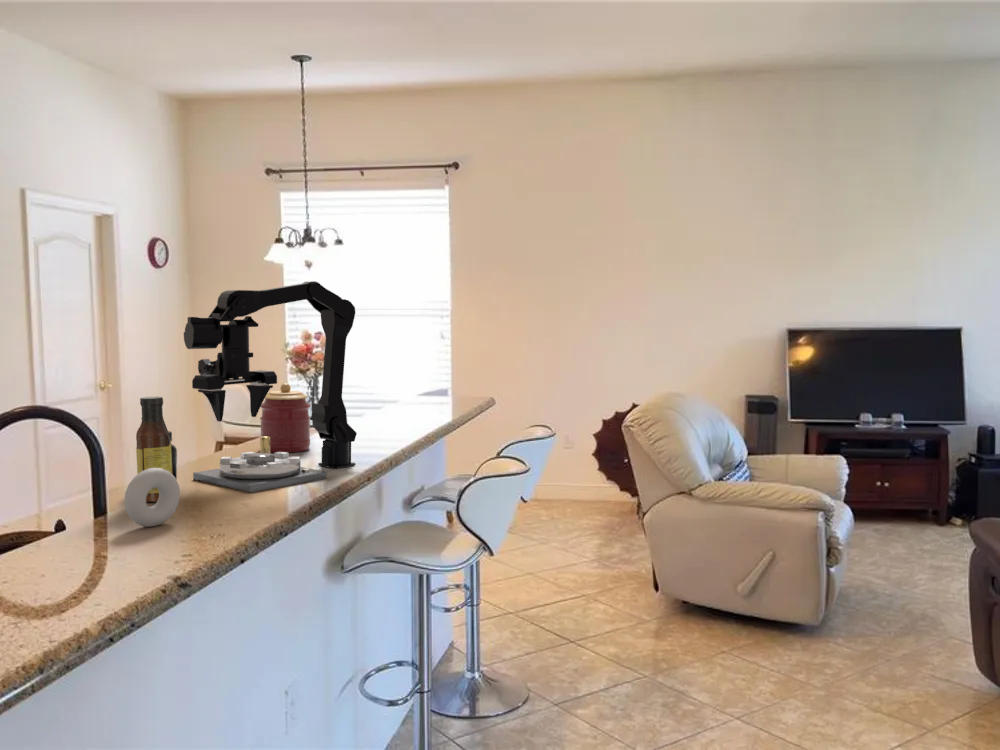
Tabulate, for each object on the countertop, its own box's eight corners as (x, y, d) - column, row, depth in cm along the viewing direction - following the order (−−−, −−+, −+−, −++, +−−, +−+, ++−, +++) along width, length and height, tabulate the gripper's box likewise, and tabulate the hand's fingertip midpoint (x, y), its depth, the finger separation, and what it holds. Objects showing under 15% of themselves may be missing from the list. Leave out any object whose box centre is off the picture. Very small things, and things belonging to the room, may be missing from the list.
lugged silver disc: (268, 461, 196) (268, 433, 195) (316, 470, 186) (316, 441, 185) (203, 471, 182) (203, 441, 182) (252, 482, 172) (252, 450, 172)
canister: (288, 444, 233) (288, 380, 232) (320, 449, 225) (320, 383, 224) (249, 449, 223) (249, 383, 221) (282, 455, 215) (282, 386, 214)
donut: (132, 534, 137) (132, 473, 137) (119, 530, 139) (119, 471, 139) (184, 521, 146) (184, 464, 145) (171, 519, 148) (171, 462, 147)
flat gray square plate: (269, 467, 198) (269, 458, 198) (326, 478, 186) (326, 469, 186) (193, 479, 182) (193, 469, 182) (250, 492, 170) (250, 482, 170)
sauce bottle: (180, 498, 164) (179, 396, 163) (157, 504, 158) (156, 399, 157) (152, 495, 166) (151, 395, 165) (129, 501, 160) (128, 397, 159)
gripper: (245, 345, 196) (246, 412, 197) (175, 348, 180) (176, 420, 181) (278, 346, 189) (279, 415, 191) (208, 350, 174) (210, 425, 175)
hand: (236, 419), depth 185 cm, fingers open, 9 cm apart
